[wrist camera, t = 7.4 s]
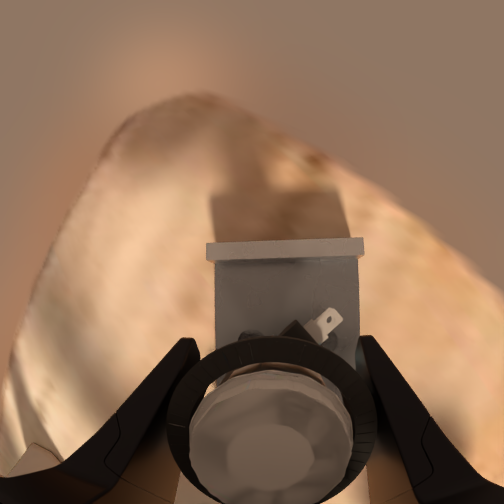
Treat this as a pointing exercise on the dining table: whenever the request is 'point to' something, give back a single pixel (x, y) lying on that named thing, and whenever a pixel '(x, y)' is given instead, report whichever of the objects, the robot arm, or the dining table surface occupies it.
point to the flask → (34, 461)
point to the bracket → (287, 290)
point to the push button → (273, 419)
